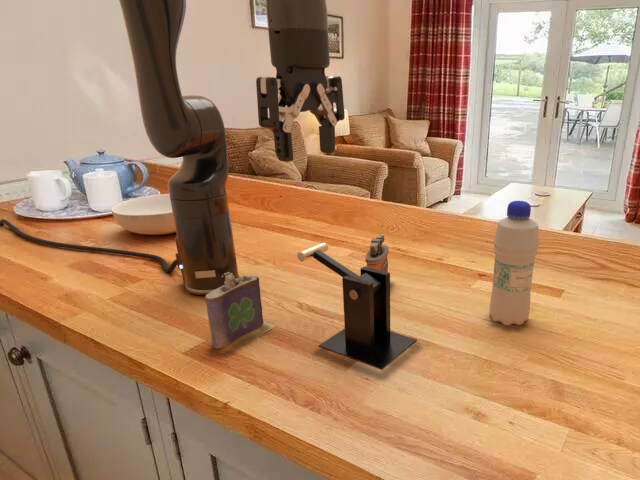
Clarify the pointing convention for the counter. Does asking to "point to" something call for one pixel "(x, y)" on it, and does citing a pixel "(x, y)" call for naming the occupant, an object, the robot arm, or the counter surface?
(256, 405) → the counter surface
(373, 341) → the bracket
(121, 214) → the serving bowl
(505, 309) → the bottle
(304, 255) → the lever
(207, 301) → the flask
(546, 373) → the counter surface
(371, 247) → the lighter
